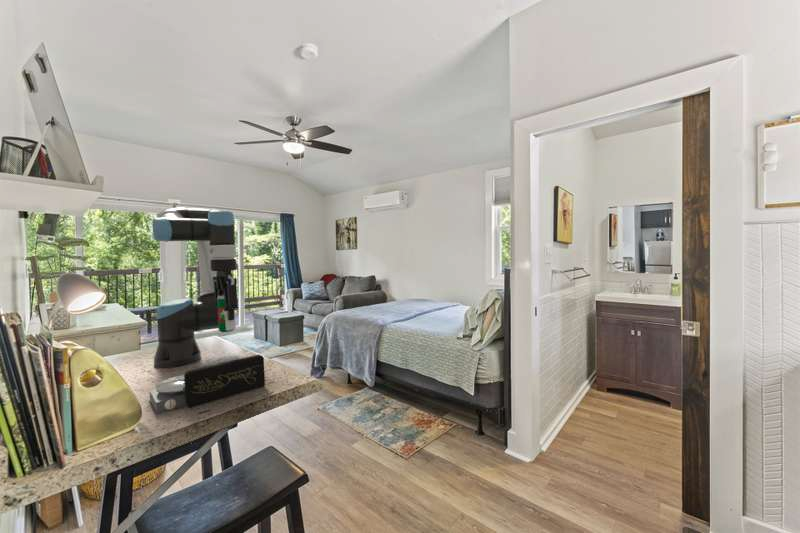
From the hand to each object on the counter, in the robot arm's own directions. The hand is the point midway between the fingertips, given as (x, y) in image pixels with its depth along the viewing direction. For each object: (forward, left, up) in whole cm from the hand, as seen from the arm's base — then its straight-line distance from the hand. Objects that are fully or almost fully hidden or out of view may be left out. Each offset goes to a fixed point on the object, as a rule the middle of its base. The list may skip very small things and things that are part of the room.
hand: (227, 328), depth 113 cm
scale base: (+7, -16, -17) cm, 24 cm away
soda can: (0, 0, -1) cm, 1 cm away
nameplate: (+15, -5, -17) cm, 23 cm away
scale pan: (+7, -15, -13) cm, 21 cm away
